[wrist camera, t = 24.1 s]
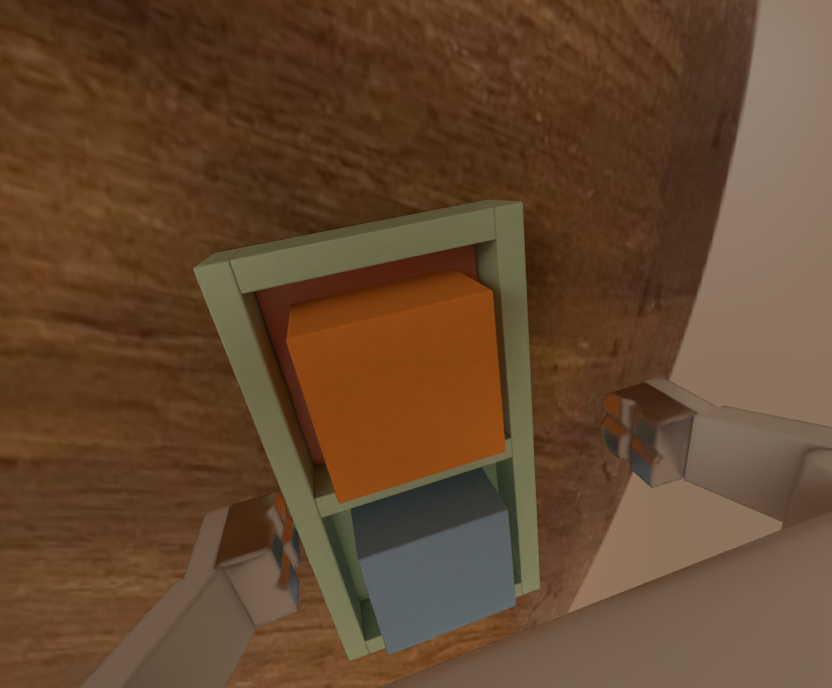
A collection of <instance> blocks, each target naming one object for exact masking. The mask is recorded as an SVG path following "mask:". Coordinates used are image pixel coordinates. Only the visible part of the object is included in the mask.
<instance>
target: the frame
mask: <svg viewBox="0 0 832 688" xmlns="http://www.w3.org/2000/svg"><path fill="white" fill-rule="evenodd" d="M451 268H453V269H455V270H457V271H459V272H461V273H462V274H464V275H466V276H468V277H470V278H471V279H473V280H475V281H477V282H478V283H480V284H482V285H484V286H486V287H487V288H489V289H491V290H492V291H493V298H494V311H495V323H496V336H497V348H498V360H499V373H500V385H501V398H502V410H503V422H504V435H505V447H506V451H505V452H503V453H500V454H497V455H494V456H490V457H487V458H484V459H481V460H478V461H475V462H471V463H468V464H465V465H462V466H459V467H455V468H452V469H449V470H446V471H443V472H440V473H436V474H433V475H430V476H427V477H424V478H421V479H417V480H414V481H411V482H408V483H405V484H401V485H398V486H395V487H392V488H389V489H386V490H382V491H379V492H376V493H373V494H370V495H366V496H363V497H360V498H357V499H354V500H351V501H347V502H344V503H339V502H338V500H337V497H336V494H335V491H334V488H333V485H332V482H331V479H330V475H329V472H328V469H327V466H326V463H325V460H324V457H323V454H322V451H321V448H320V445H319V441H318V438H317V435H316V432H315V429H314V426H313V423H312V420H311V417H310V414H309V411H308V407H307V404H306V401H305V398H304V395H303V392H302V389H301V386H300V383H299V380H298V376H297V373H296V370H295V367H294V364H293V361H292V358H291V355H290V352H289V349H288V346H287V342H286V338H287V331H288V324H289V316H290V309H291V305H292V304H294V303H299V302H303V301H308V300H312V299H317V298H321V297H326V296H330V295H335V294H339V293H344V292H348V291H353V290H357V289H362V288H366V287H371V286H375V285H379V284H384V283H388V282H393V281H397V280H402V279H406V278H411V277H415V276H420V275H424V274H429V273H433V272H438V271H442V270H447V269H451ZM193 271H194V273H195V276H196V278H197V281H198V283H199V286H200V288H201V291H202V293H203V296H204V298H205V301H206V303H207V306H208V308H209V311H210V313H211V316H212V318H213V321H214V323H215V326H216V328H217V331H218V333H219V336H220V338H221V341H222V343H223V346H224V348H225V351H226V353H227V356H228V358H229V361H230V363H231V366H232V368H233V371H234V373H235V376H236V378H237V381H238V384H239V386H240V389H241V391H242V394H243V396H244V399H245V401H246V404H247V406H248V409H249V411H250V414H251V416H252V419H253V421H254V424H255V426H256V429H257V431H258V434H259V436H260V439H261V441H262V444H263V446H264V449H265V451H266V454H267V456H268V459H269V461H270V464H271V466H272V469H273V471H274V474H275V476H276V479H277V481H278V484H279V486H280V489H281V491H282V494H283V496H284V499H285V501H286V504H287V506H288V509H289V511H290V514H291V516H292V519H293V521H294V524H295V527H296V529H297V532H298V534H299V537H300V539H301V542H302V544H303V547H304V549H305V552H306V554H307V557H308V559H309V562H310V564H311V567H312V569H313V572H314V574H315V577H316V579H317V582H318V584H319V587H320V589H321V592H322V594H323V597H324V599H325V602H326V604H327V607H328V609H329V612H330V614H331V617H332V619H333V622H334V624H335V627H336V629H337V632H338V634H339V637H340V639H341V642H342V644H343V647H344V649H345V652H346V654H347V657H348V659H349V661H352V660H354V659H357V658H360V657H362V656H365V655H367V654H369V653H370V654H371V653H374V652H376V651H379V650H381V649H384V648H385V644H384V641H383V638H382V635H381V632H380V629H379V626H378V623H377V620H376V617H375V614H374V611H373V607H372V604H371V601H370V598H369V595H368V592H367V589H366V586H365V583H364V580H363V577H362V574H361V570H360V567H359V564H358V561H357V554H356V547H355V539H354V532H353V524H352V517H351V508H354V507H357V506H361V505H364V504H367V503H370V502H373V501H376V500H379V499H382V498H386V497H389V496H392V495H395V494H398V493H401V492H404V491H408V490H411V489H414V488H417V487H420V486H423V485H426V484H429V483H433V482H436V481H439V480H442V479H445V478H448V477H451V476H455V475H458V474H461V473H464V472H467V471H470V470H473V469H476V468H480V467H482V468H483V470H484V472H485V473H486V475H487V476H488V478H489V480H490V481H491V483H492V484H493V486H494V488H495V489H496V491H497V492H498V494H499V496H500V497H501V499H502V500H503V502H504V504H505V505H506V507H507V509H508V516H509V527H510V539H511V551H512V562H513V574H514V586H515V598H516V597H519V596H521V595H522V594H523V595H524V594H527V593H529V592H532V591H534V590H537V589H539V588H540V577H539V554H538V532H537V510H536V487H535V465H534V443H533V420H532V398H531V376H530V353H529V331H528V309H527V286H526V264H525V242H524V219H523V202H519V201H506V200H490V199H488V200H482V201H477V202H472V203H467V204H462V205H457V206H452V207H447V208H442V209H437V210H431V211H426V212H421V213H416V214H411V215H406V216H401V217H396V218H391V219H386V220H380V221H375V222H370V223H365V224H360V225H355V226H350V227H345V228H340V229H335V230H330V231H324V232H319V233H314V234H309V235H304V236H299V237H294V238H289V239H284V240H279V241H273V242H268V243H263V244H258V245H253V246H248V247H243V248H238V249H233V250H228V251H222V252H217V253H213V254H212V255H211V256H209V257H208V258H207V259H205V260H204V261H203V262H201V263H200V264H198V265H197V266H196V267H194V270H193Z"/></svg>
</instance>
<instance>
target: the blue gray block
mask: <svg viewBox="0 0 832 688" xmlns="http://www.w3.org/2000/svg"><path fill="white" fill-rule="evenodd" d="M351 517H352V524H353V532H354V539H355V547H356V554H357V561H358V564H359V567H360V570H361V574H362V577H363V580H364V583H365V586H366V589H367V592H368V595H369V598H370V601H371V604H372V607H373V611H374V614H375V617H376V620H377V623H378V626H379V629H380V632H381V635H382V638H383V641H384V644H385V648H386V651H387V653H388V655H391V654H393V653H396V652H398V651H401V650H403V649H406V648H409V647H411V646H414V645H416V644H419V643H421V642H424V641H427V640H429V639H432V638H434V637H437V636H439V635H442V634H445V633H447V632H450V631H452V630H455V629H457V628H460V627H463V626H465V625H468V624H470V623H473V622H475V621H478V620H480V619H483V618H486V617H488V616H491V615H493V614H496V613H498V612H501V611H504V610H506V609H509V608H511V607H514V606H516V598H515V586H514V574H513V562H512V551H511V539H510V527H509V516H508V509H507V507H506V505H505V504H504V502H503V500H502V499H501V497H500V496H499V494H498V492H497V491H496V489H495V488H494V486H493V484H492V483H491V481H490V480H489V478H488V476H487V475H486V473H485V472H484V470H483V468H482V467H480V468H476V469H473V470H470V471H467V472H464V473H461V474H458V475H455V476H451V477H448V478H445V479H442V480H439V481H436V482H433V483H429V484H426V485H423V486H420V487H417V488H414V489H411V490H408V491H404V492H401V493H398V494H395V495H392V496H389V497H386V498H382V499H379V500H376V501H373V502H370V503H367V504H364V505H361V506H357V507H354V508H351Z"/></svg>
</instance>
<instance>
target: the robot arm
mask: <svg viewBox="0 0 832 688" xmlns="http://www.w3.org/2000/svg"><path fill="white" fill-rule="evenodd" d="M602 409H603V410H604V411H605V412H606V413H607V415H606V416H605V418H604V419H603V421H602V436H603V439H604V441H605V444H606V445H607V447H608V448H609V449H610V451H611V452H612V453H613V454H614V455H615V456H617V457H618V458H620V459H623V460H626V461H629V462H630V466H631V470H632V471H633V472H634V473H636V474H637V475H638V476H639V477H640V478H641V479H642V480H644V481H645V482H646V483H647V484H648V485H649V486H650V487H651V488H654V487H657V486H660V485H664V484H667V483H670V482H673V481H676V480H679V479H682V478H684V480H685V481H687V482H690V483H692V484H695V485H697V486H699V487H701V488H704V489H707V490H709V491H711V492H713V493H716V494H718V495H720V496H723V497H725V498H727V499H730V500H732V501H734V502H737V503H739V504H741V505H744V506H746V507H748V508H751V509H753V510H755V511H758V512H760V513H762V514H765V515H767V516H769V517H772V518H774V519H777V520H779V521H781V522H783V525H782V528H781V530H779V531H777V532H774V533H772V534H769V535H767V536H764V537H762V538H759V539H756V540H754V541H752V542H749V543H746V544H744V545H741V546H739V547H736V548H734V549H731V550H728V551H726V552H723V553H721V554H718V555H716V556H713V557H711V558H708V559H706V560H703V561H701V562H698V563H695V564H693V565H690V566H688V567H685V568H683V569H680V570H677V571H675V572H672V573H670V574H667V575H665V576H662V577H660V578H657V579H655V580H652V581H650V582H647V583H644V584H642V585H639V586H637V587H634V588H632V589H629V590H627V591H624V592H622V593H619V594H616V595H614V596H611V597H609V598H606V599H604V600H601V601H599V602H596V603H593V604H591V605H588V606H586V607H583V608H581V609H578V610H576V611H573V612H571V613H568V614H565V615H563V616H560V617H558V618H555V619H553V620H550V621H547V622H545V623H542V624H540V625H537V626H535V627H532V628H530V629H527V630H524V631H522V632H519V633H517V634H514V635H512V636H509V637H507V638H504V639H501V640H499V641H496V642H494V643H491V644H489V645H486V646H484V647H481V648H478V649H476V650H473V651H471V652H468V653H466V654H463V655H461V656H458V657H455V658H453V659H450V660H448V661H445V662H443V663H440V664H438V665H435V666H432V667H430V668H427V669H425V670H422V671H420V672H417V673H415V674H412V675H409V676H407V677H404V678H402V679H399V680H397V681H394V682H392V683H389V684H386V685H384V686H381V687H379V688H832V427H829V426H824V425H819V424H814V423H809V422H804V421H799V420H793V419H788V418H783V417H778V416H773V415H768V414H763V413H758V412H753V411H748V410H742V409H737V408H733V407H727V406H722V407H717V406H715V405H713V404H711V403H709V402H708V401H706V400H704V399H702V398H700V397H698V396H697V395H695V394H693V393H691V392H689V391H687V390H686V389H684V388H682V387H680V386H678V385H676V384H675V383H673V382H671V381H669V380H667V379H665V378H660V377H657V378H654V379H651V380H648V381H645V382H642V383H640V384H637V385H633V386H630V387H627V388H624V389H620V390H617V391H614V392H611V393H607V394H605V396H604V398H603V402H602ZM299 560H300V550H299V541H298V535H297V531H296V527H295V525H294V522H293V520H292V518H290V517H288V516H286V503H285V500H284V498H283V496H282V494H281V493H280V492H275V493H271V494H268V495H264V496H260V497H257V498H253V499H250V500H246V501H242V502H239V503H235V504H233V505H229V506H225V507H222V508H218V509H215V510H211V511H209V512H208V513H207V514H206V515H205V516H204V518H203V521H202V524H201V527H200V530H199V533H198V536H197V539H196V542H195V545H194V548H193V551H192V554H191V557H190V561H189V564H188V567H187V570H186V573H185V576H184V579H183V580H180V581H177V582H175V583H174V584H173V585H172V586H171V587H170V589H169V590H168V591H167V592H166V593H165V594H164V595H163V596H162V597H161V598H160V600H159V601H158V602H157V603H156V604H155V605H154V606H153V607H152V608H151V609H150V611H149V612H148V613H147V614H146V615H145V616H144V617H143V618H142V619H141V620H140V622H139V623H138V624H137V625H136V626H135V627H134V628H133V629H132V630H131V631H130V632H129V634H128V635H127V636H126V637H125V638H124V639H123V640H122V641H121V642H120V643H119V645H118V646H117V647H116V648H115V649H114V650H113V651H112V652H111V653H110V654H109V656H108V657H107V658H106V659H105V660H104V661H103V662H102V663H101V664H100V665H99V667H98V668H97V669H96V670H95V671H94V672H93V673H92V674H91V675H90V676H89V678H88V679H87V680H86V681H85V682H84V683H83V684H82V685H81V686H80V687H79V688H225V686H226V685H227V683H228V681H229V679H230V677H231V675H232V673H233V672H234V670H235V668H236V666H237V664H238V662H239V661H240V659H241V657H242V655H243V653H244V651H245V649H246V648H247V646H248V644H249V642H250V640H251V638H252V636H253V635H254V633H255V631H256V630H255V628H256V627H259V626H261V625H264V624H267V623H269V622H272V621H275V620H277V619H280V618H282V617H285V616H288V615H290V614H293V613H296V612H298V591H299V580H298V578H297V576H296V573H295V571H294V570H295V569H296V567H297V565H298V564H299Z"/></svg>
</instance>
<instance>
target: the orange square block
mask: <svg viewBox="0 0 832 688" xmlns="http://www.w3.org/2000/svg"><path fill="white" fill-rule="evenodd" d="M286 342H287V346H288V349H289V352H290V355H291V358H292V361H293V364H294V367H295V370H296V373H297V376H298V380H299V383H300V386H301V389H302V392H303V395H304V398H305V401H306V404H307V407H308V411H309V414H310V417H311V420H312V423H313V426H314V429H315V432H316V435H317V438H318V441H319V445H320V448H321V451H322V454H323V457H324V460H325V463H326V466H327V469H328V472H329V475H330V479H331V482H332V485H333V488H334V491H335V494H336V497H337V500H338V502H339V503H344V502H347V501H351V500H354V499H357V498H360V497H363V496H366V495H370V494H373V493H376V492H379V491H382V490H386V489H389V488H392V487H395V486H398V485H401V484H405V483H408V482H411V481H414V480H417V479H421V478H424V477H427V476H430V475H433V474H436V473H440V472H443V471H446V470H449V469H452V468H455V467H459V466H462V465H465V464H468V463H471V462H475V461H478V460H481V459H484V458H487V457H490V456H494V455H497V454H500V453H503V452H505V451H506V447H505V435H504V422H503V410H502V398H501V385H500V373H499V360H498V348H497V336H496V323H495V311H494V298H493V291H492V290H491V289H489V288H487V287H486V286H484V285H482V284H480V283H478V282H477V281H475V280H473V279H471V278H470V277H468V276H466V275H464V274H462V273H461V272H459V271H457V270H455V269H453V268H451V269H447V270H442V271H438V272H433V273H429V274H424V275H420V276H415V277H411V278H406V279H402V280H397V281H393V282H388V283H384V284H379V285H375V286H371V287H366V288H362V289H357V290H353V291H348V292H344V293H339V294H335V295H330V296H326V297H321V298H317V299H312V300H308V301H303V302H299V303H294V304H292V305H291V309H290V316H289V324H288V331H287V338H286Z"/></svg>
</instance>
